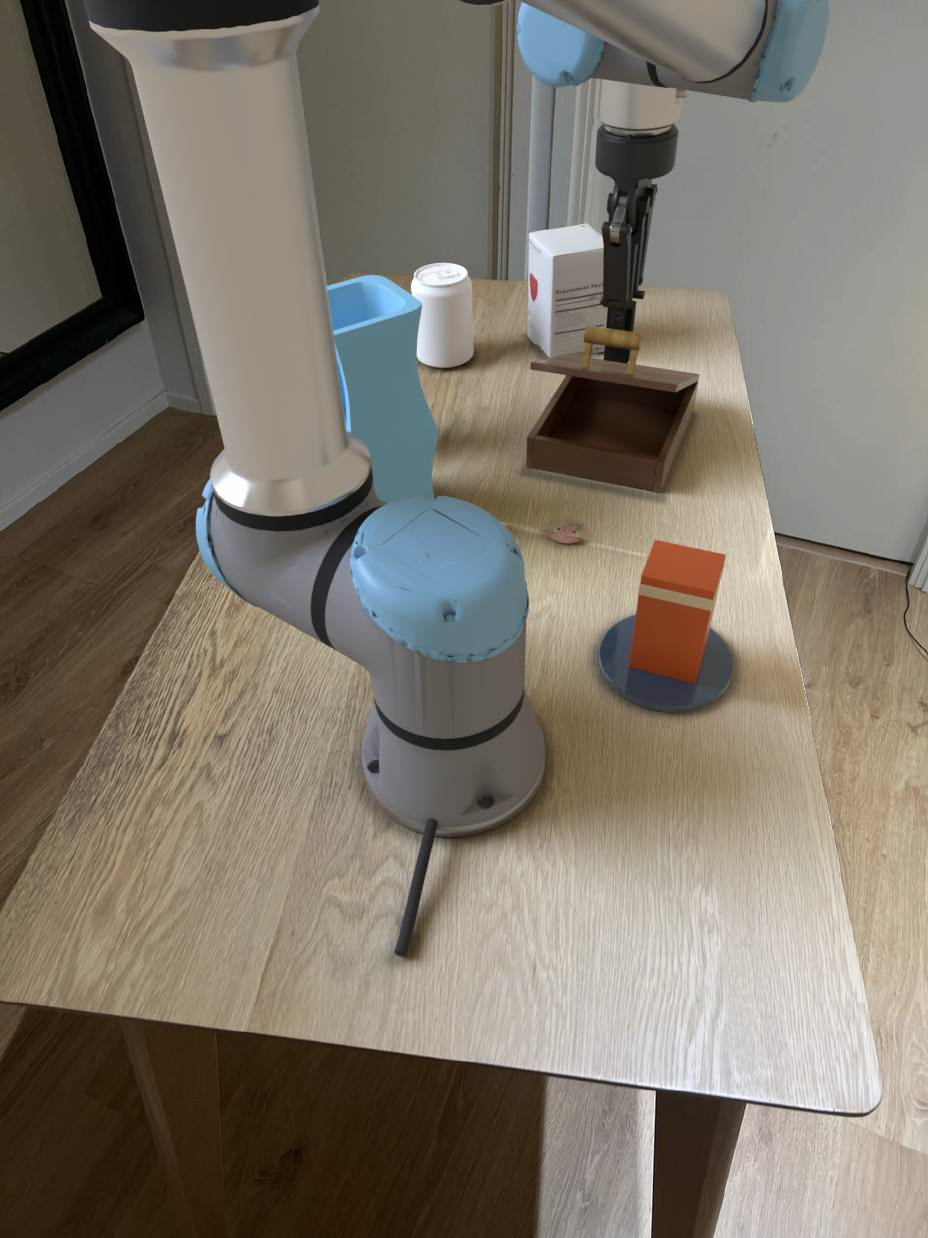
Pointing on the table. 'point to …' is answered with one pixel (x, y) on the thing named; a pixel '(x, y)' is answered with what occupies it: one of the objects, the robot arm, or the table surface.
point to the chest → (611, 432)
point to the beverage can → (444, 315)
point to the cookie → (565, 534)
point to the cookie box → (675, 610)
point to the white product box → (565, 288)
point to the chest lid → (616, 363)
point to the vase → (384, 383)
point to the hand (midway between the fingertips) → (617, 358)
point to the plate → (658, 688)
